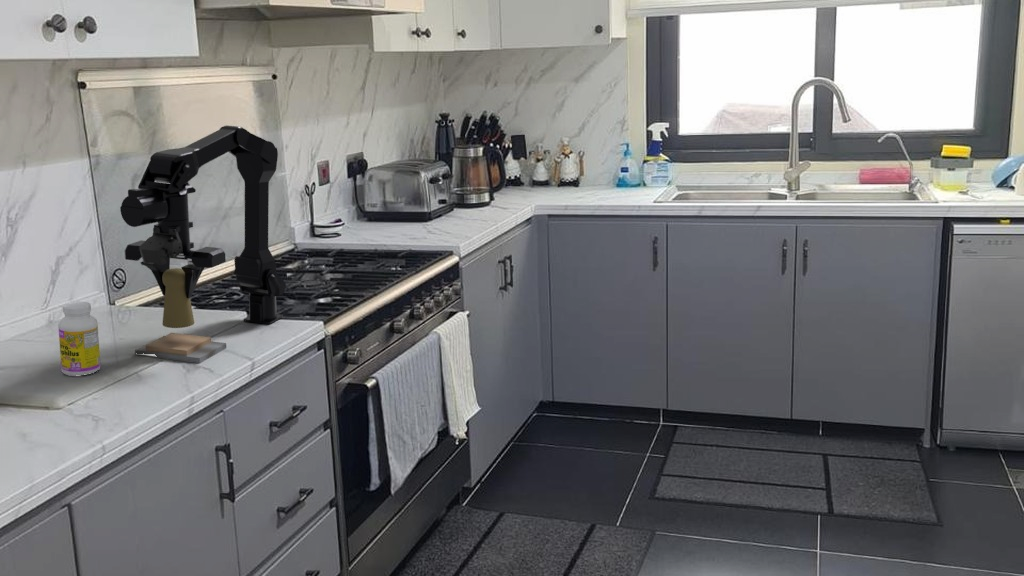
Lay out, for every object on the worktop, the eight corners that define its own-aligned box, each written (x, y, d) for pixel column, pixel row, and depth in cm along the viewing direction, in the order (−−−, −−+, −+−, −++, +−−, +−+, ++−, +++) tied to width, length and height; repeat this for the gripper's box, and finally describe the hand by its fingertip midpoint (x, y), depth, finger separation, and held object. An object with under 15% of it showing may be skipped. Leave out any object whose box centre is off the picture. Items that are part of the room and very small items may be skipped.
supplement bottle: (53, 373, 180) (48, 305, 177) (84, 363, 186) (79, 297, 183) (78, 380, 177) (73, 311, 174) (108, 369, 183) (104, 303, 180)
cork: (164, 329, 190) (161, 274, 187) (160, 320, 195) (157, 267, 192) (197, 326, 192) (194, 271, 190) (191, 317, 198) (189, 264, 195)
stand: (164, 340, 201) (164, 330, 201) (226, 347, 198) (226, 338, 198) (135, 354, 192) (134, 345, 191) (199, 363, 189) (199, 353, 188)
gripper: (104, 221, 183) (109, 302, 187) (194, 230, 179) (198, 312, 183) (139, 211, 193) (144, 288, 197) (225, 219, 189) (228, 297, 193)
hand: (177, 296), depth 192 cm, fingers closed on cork, 5 cm apart
